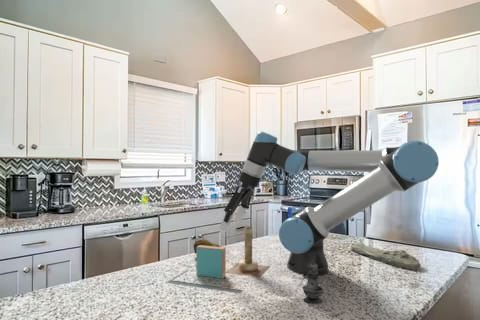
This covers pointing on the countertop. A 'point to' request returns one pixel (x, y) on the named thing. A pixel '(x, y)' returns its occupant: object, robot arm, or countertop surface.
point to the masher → (248, 254)
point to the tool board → (258, 273)
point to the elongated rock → (388, 256)
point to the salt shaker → (312, 285)
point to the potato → (204, 243)
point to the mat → (202, 285)
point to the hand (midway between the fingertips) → (230, 226)
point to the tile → (211, 261)
